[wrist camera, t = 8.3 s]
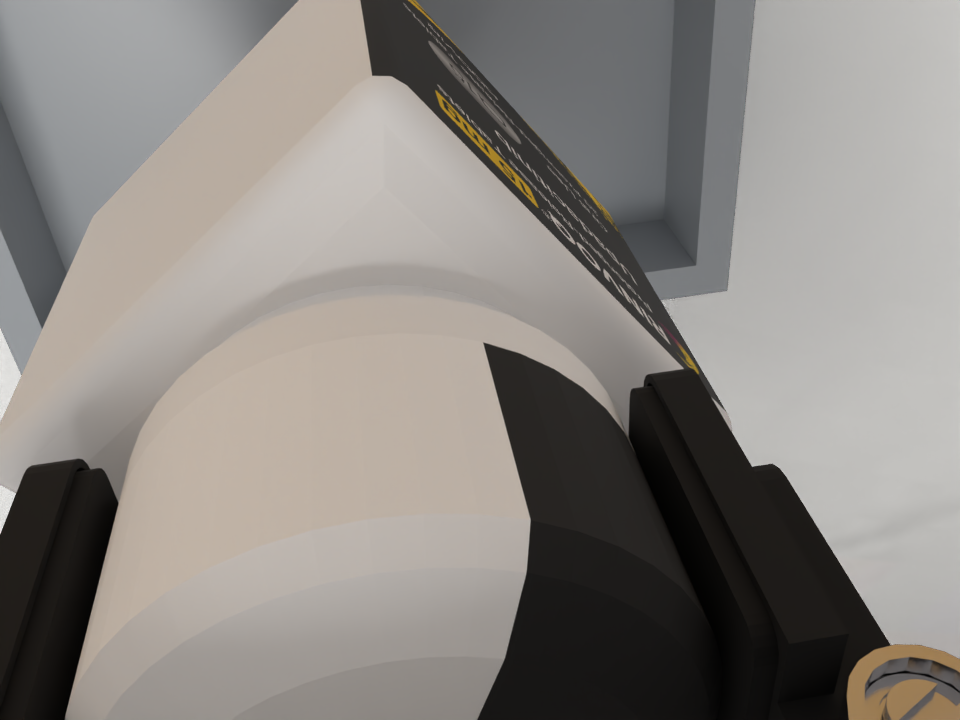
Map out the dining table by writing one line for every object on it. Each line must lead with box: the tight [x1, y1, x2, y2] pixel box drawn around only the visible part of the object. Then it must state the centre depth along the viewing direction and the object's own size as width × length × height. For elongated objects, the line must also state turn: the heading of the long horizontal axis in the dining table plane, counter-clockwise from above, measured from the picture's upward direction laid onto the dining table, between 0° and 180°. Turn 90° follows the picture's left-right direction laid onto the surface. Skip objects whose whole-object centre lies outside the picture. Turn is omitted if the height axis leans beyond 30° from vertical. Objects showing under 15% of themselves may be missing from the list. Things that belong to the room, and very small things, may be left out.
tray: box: [0, 0, 755, 375], centre depth 24 cm, size 20×13×4 cm, turn 94°
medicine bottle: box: [0, 0, 732, 720], centre depth 13 cm, size 7×7×12 cm
